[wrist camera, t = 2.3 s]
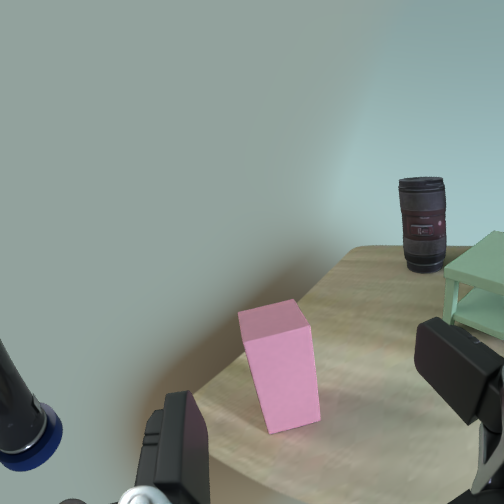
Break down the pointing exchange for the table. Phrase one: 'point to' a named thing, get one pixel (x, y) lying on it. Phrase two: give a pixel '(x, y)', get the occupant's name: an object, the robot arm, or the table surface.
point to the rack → (478, 287)
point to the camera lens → (423, 222)
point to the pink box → (281, 364)
